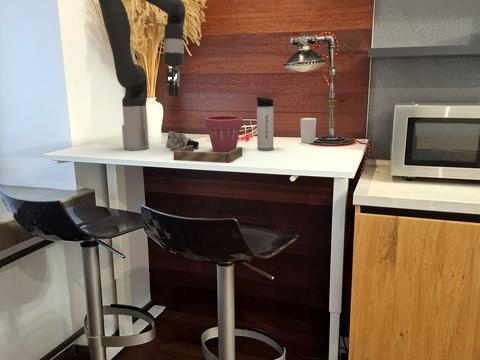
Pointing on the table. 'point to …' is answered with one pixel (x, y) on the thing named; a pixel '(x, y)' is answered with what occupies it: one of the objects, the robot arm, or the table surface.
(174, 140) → the caster wheel
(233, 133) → the plant pot
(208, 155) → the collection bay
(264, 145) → the travel mug
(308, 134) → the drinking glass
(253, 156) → the table surface
